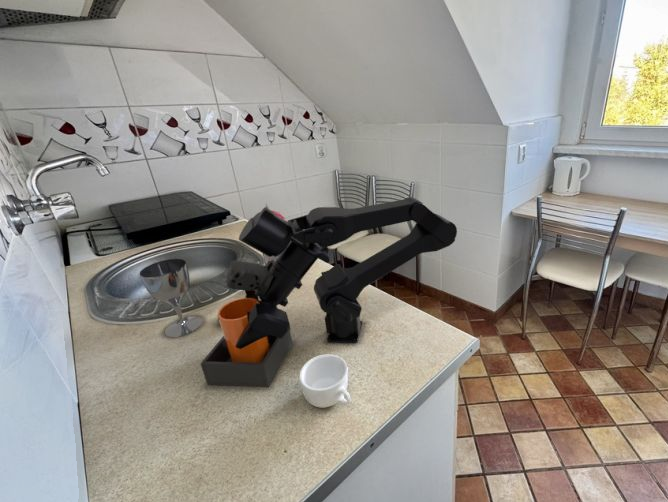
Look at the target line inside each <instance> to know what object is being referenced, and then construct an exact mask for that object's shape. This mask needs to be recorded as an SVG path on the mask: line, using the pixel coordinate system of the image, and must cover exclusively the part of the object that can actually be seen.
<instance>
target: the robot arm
mask: <svg viewBox="0 0 668 502" xmlns="http://www.w3.org/2000/svg"><path fill="white" fill-rule="evenodd" d="M268 208H269V207H268ZM268 208H266V206H265V207H263V208H262V209H261V210H260V211H259V212H258V213H257V212H256V214H255V215H254V216H253V217H250V219H248V221H247V222H246V223H245V225H244V226H243V228H242V230H241V232H240V234H239V236H238V241H240V242H242V243H243V244H245V245H247V246H249V247H251V248H253V249H254V250H256V251H258V252H260V253H262V255H263V254H265V255H267V256H269V257H271V256H275V257H276V256H277V255H279V254H281V255H280V256H279V257H278V258H277V260H276V261H274V260H271V261H268V263H267V264H266V265H265V264H264V265H263V264H258V263H255V262H249V261H242V260H231V261H230V263H229V267H228V271H227V275H226V287H227V288H228V289H231V290H239V291H244V293H245V296H244V298H254V299H257V300H258V301H259V302H260V303H259V304H255V306H254V307H253V308H252V309H251V312H248V311H247V320H248V324H247V326H246V327H245V329H244V331H243V333H242V334H241V336H240V338H239V339H238V341H237V343H236V345H235V347H236V348H239V349H242V348H244V347H246V346H248V345H249V344H251V343H253V342H255V341H257V340H259V339H262V338H264V337H266V336H269V335H273V336H275V337H278V338H280V339H282V338H284V337H285V336H286V334H287V333H288V332H289V331H290V332H291V324H290V320H289V316H288V313H287V311H285V310H283V309H280V308H278V306H281V307H284V308H286V306H287V305H289V301H288V297H289V296H290V295H291V293H292V292H293V291H294V290H295V289H297V290H300V289H301V287H302V286H303V282H302V280H303V278H304V276H306V274H307V273H308V272H309V271H310V269H311V268H312V267H313V265H314V264H315V263H316V261H317V260H318V259H319V260H321V261H323V262H325V263H326V264H328V263H330V262H331V260H330V256H329V250H330V249H329V247H332V246H335V245H337V244H340V243H342V242H344V241H347V240H348V239H350V238H352V237H353V236H354V235H355V234H359V233H360V232H364V231H368V230H369V231H370V230H374V229H378V228H384V227H388V226H392V225H397V224H402V223H406V222H412V221H413V222H414V223H415V225H414V226H413V227H412V229H411V231H410V232H409V233H408V234H407V235H406V236H403V237H402V238H400V239H398V240H397V241H395V242H394V243H392V244H390V245H388V246H387V247H386V246H385V248H383V249H381V250H380V251H378V252H376V253H375V254H372V255H371V256H369V257H367V258H366V259H363V260H362V261H360V262H359V263H357V264H355V265H354V266H352V267H347V268H343V267H342V266H341V264H340V263H337V264H335V265H333V266H332V267H331V268H329V269H328V270H326V271H321V272H320V274H321V275H320V276H319V277H318V278H316V280H315V283H314V285H313V292H314V294H315V297H316V300H317V302H318V305H319V307H320V309H321V310H322V311H323V313H325V316H324V323H325V324H324V326H325V330H326V332H325V333H326V334H327V337H326V342H327V343H344V344H345V343H346V344H347V343H348V344H349V343H350V344H352V343H353V344H357V343H358V342H359V340H360V335H361V331H362V327H363V324H364V323H363V321H362V320H361V313H362V309H363V308H362V306H361V305H360V303H359V301H358V297H359V296H360V294H361V293H362V291H363V290H364V289H365V288H367V287H368V286H369V285H371V284H373V283H375V282H376V281H378V280H379V279H381V278H383V277H385V276H386V275H388V274H389V273H391V272H393V271H394V270H396V269H398V268H400V267H401V266H403V265H404V264H406V263H408V262H409V261H411V260H413V259H415V258H416V257H417V256H419V255H421V254H425V253H426V254H427V253H433V252H434V253H435V252H438V251H441V250H443V249H446V248H448V247H450V246H451V245H453V244H454V243H455V242H456V238H457V234H458V228H457V226H456V224H455V223H454V222H452V221H451V220H449V219H447V218H446V217H443V216H441V214H438V213H434V212H433V211H432V210H431V209H429V208H428V207H427V206H426V205H425V203H424V202H422V201H421V200H419V199H417V198H415V197H413V196H409V197H406V198H404V199H399V200H393V201H388V202H387V201H386V202H382V203H376V204H372V205H365V206H361V207H355V208H345V207H337V206H328V207H327V206H320V207H319V206H318V207H315V208H313V209H311V210H310V211H309V212H308V214H304V215H301V216H298V217H295V218H291V219H288V220H286V221H287V222H286V221H284V220H283V219H281V218H280V217H278V216H277V215H275V214H274V213H273V212H272V211H273V210H271V209H270V208H269V209H268Z"/></svg>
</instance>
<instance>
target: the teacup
mask: <svg viewBox="0 0 668 502" xmlns="http://www.w3.org/2000/svg"><path fill="white" fill-rule="evenodd" d="M348 382H349V368H348V364H347V362H346V361H345V359H343V358H342V357H341V356H339V355H336V354H333V353H332V354H331V353H330V354H329V353H325V354H319V355H317V356H314V357H312V358H310V359H309V360H308V361H306V362H305V363H304V364H303V366H302V367H301V369H300V372H299V385H300V388H301V391H302V394H303V397H304V398H305V400H306V401H307V402H308V403H309V404H310V405H312V406H314V407H315V408H328V407H332V406H334V405H336V404H337V403H341V404H344V405H349V404H350V403H351V401H352V397H351V395H350V393H349V392H348V391H347V390H348Z"/></svg>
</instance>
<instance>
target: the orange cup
mask: <svg viewBox="0 0 668 502" xmlns="http://www.w3.org/2000/svg"><path fill="white" fill-rule="evenodd" d="M259 303H260V302H259V301H258V300H257V299H254V298H245V297H242V298H237V299H234V300H232V301H230V302H227V303H225V304H224V305H222V307H221V308H220V309H219V310H218V311H217V319H218V318H219V322H220V324H219V325H220V329H221V331H222V334H223V336H224V338H225V342H226V345H227V348H228V351H229V355H230V358H231V361H232V362H247V363H262V362H263V360H264V359H265V357H266V355H267V354H268V352H269V350H270V345H269V340H268V336H266V337H264V338H262V339H259V340H257V341H255V342H253V343H251V344H249V345H248V346H246V347H244V348H242V349H239V348H236V347H235V345H236V343H237V341H238V339H239V338H240V336H241V334H242V333H243V331H244V329H245V327H246V326H247V324H248V320H247V311H248V312H251V309H252V308H253V307H254V306H255V304H259Z"/></svg>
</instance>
